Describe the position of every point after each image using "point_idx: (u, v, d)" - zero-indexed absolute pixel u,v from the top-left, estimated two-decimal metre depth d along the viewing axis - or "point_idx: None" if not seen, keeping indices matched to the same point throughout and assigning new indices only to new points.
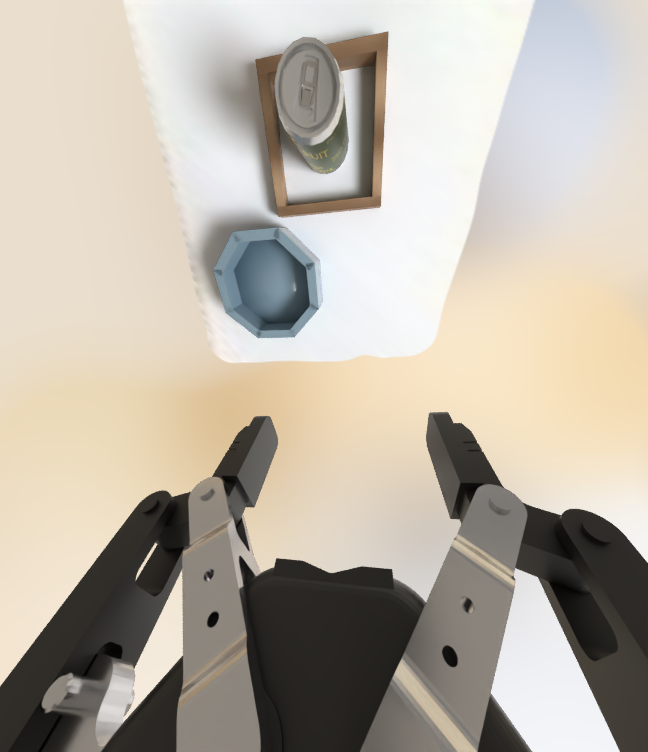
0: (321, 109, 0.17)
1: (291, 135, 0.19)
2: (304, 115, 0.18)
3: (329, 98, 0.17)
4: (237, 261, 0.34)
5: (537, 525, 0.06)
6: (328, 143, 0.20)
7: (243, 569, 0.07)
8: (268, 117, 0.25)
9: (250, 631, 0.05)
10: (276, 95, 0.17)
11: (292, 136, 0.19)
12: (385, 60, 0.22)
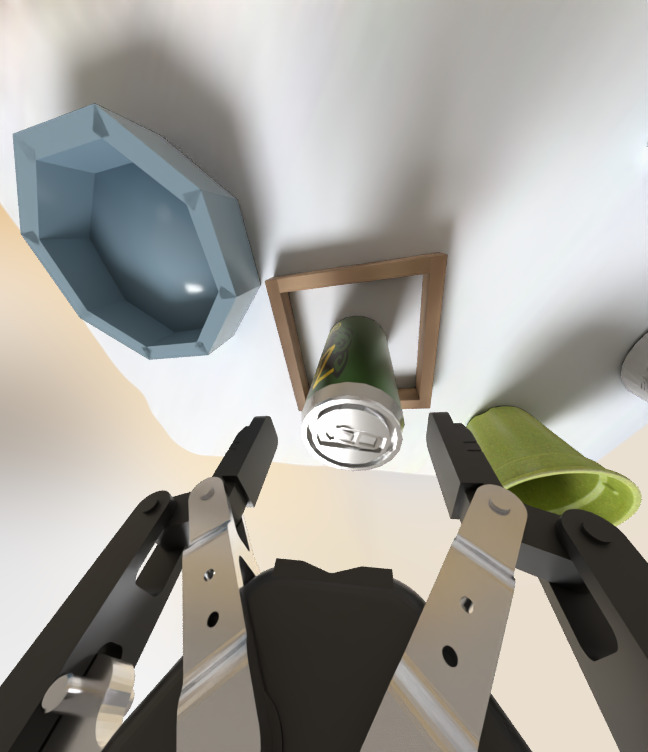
0: (331, 452, 0.12)
1: (309, 401, 0.11)
2: (327, 428, 0.11)
3: (341, 460, 0.12)
4: None
5: (537, 525, 0.06)
6: None
7: (243, 569, 0.07)
8: (383, 271, 0.16)
9: (250, 632, 0.05)
10: (346, 400, 0.10)
11: (308, 403, 0.11)
12: (411, 407, 0.22)
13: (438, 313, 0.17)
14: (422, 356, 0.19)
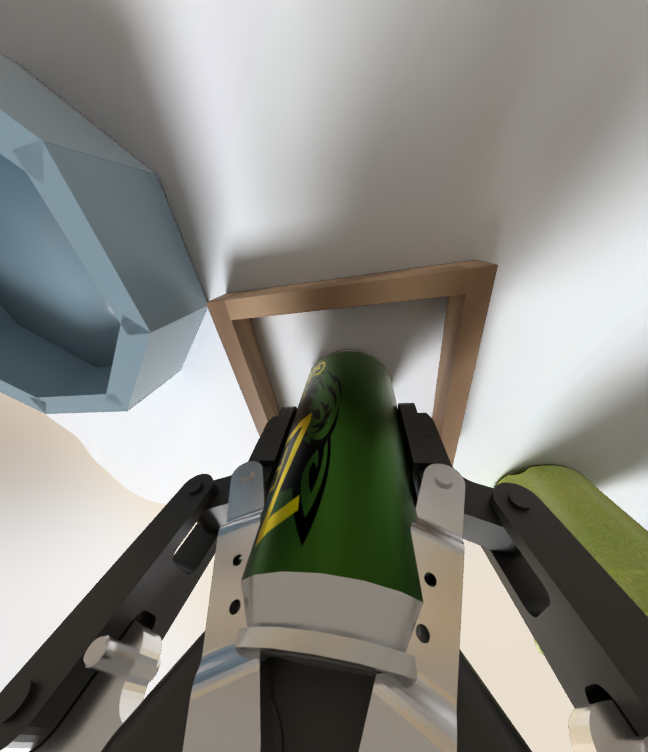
0: None
1: (242, 589, 0.05)
2: None
3: None
4: None
5: (475, 497, 0.07)
6: None
7: None
8: (390, 291, 0.10)
9: None
10: (316, 655, 0.04)
11: None
12: None
13: (474, 353, 0.11)
14: (444, 409, 0.13)
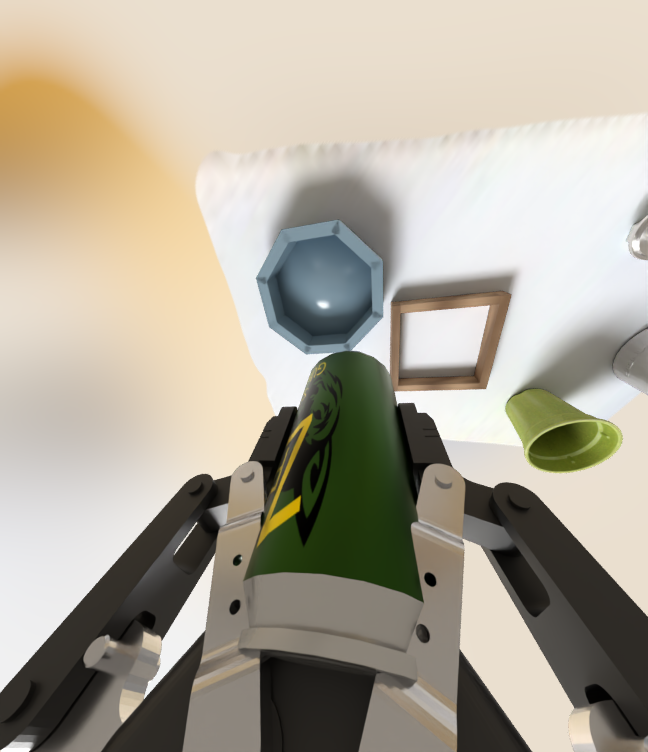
0: None
1: (244, 590, 0.05)
2: None
3: None
4: None
5: (475, 497, 0.07)
6: None
7: None
8: (470, 302, 0.27)
9: None
10: (318, 656, 0.04)
11: None
12: (473, 388, 0.33)
13: (501, 327, 0.28)
14: (486, 354, 0.30)
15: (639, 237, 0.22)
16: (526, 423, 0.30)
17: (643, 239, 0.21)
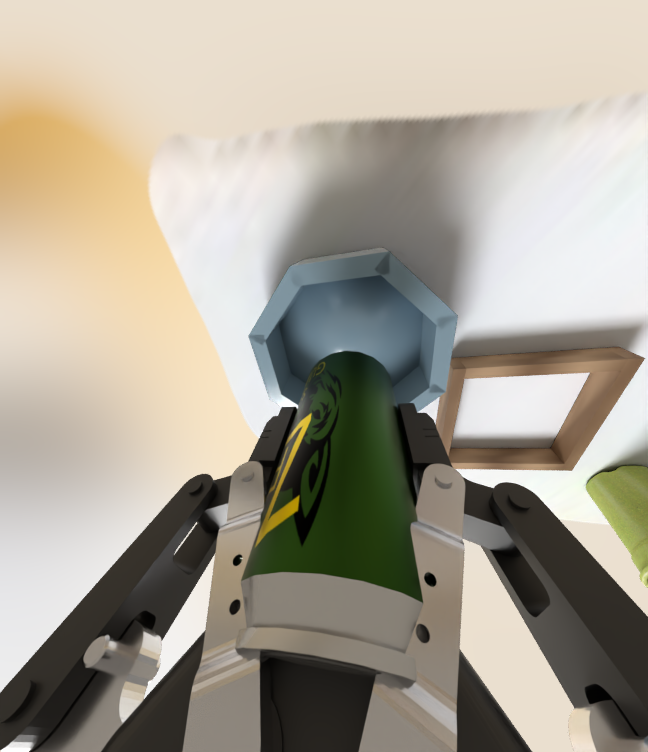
0: None
1: (242, 590, 0.05)
2: None
3: None
4: None
5: (475, 497, 0.07)
6: None
7: None
8: (576, 367, 0.18)
9: None
10: (316, 656, 0.04)
11: None
12: (553, 469, 0.24)
13: (615, 400, 0.19)
14: (581, 430, 0.21)
15: None
16: (637, 526, 0.21)
17: None
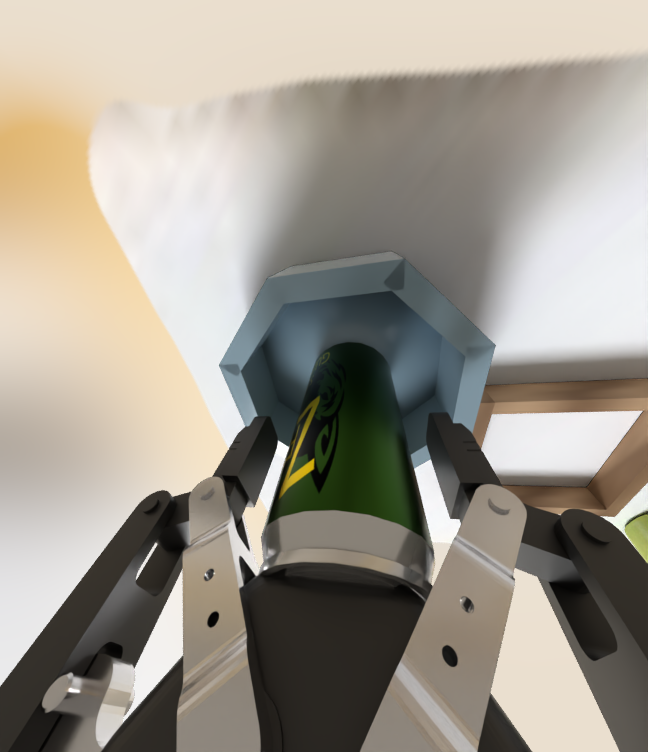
0: None
1: (270, 530, 0.07)
2: None
3: None
4: None
5: (537, 525, 0.06)
6: None
7: (243, 569, 0.07)
8: (637, 404, 0.14)
9: (250, 632, 0.05)
10: (334, 564, 0.05)
11: (268, 533, 0.07)
12: None
13: None
14: (632, 474, 0.17)
15: None
16: None
17: None
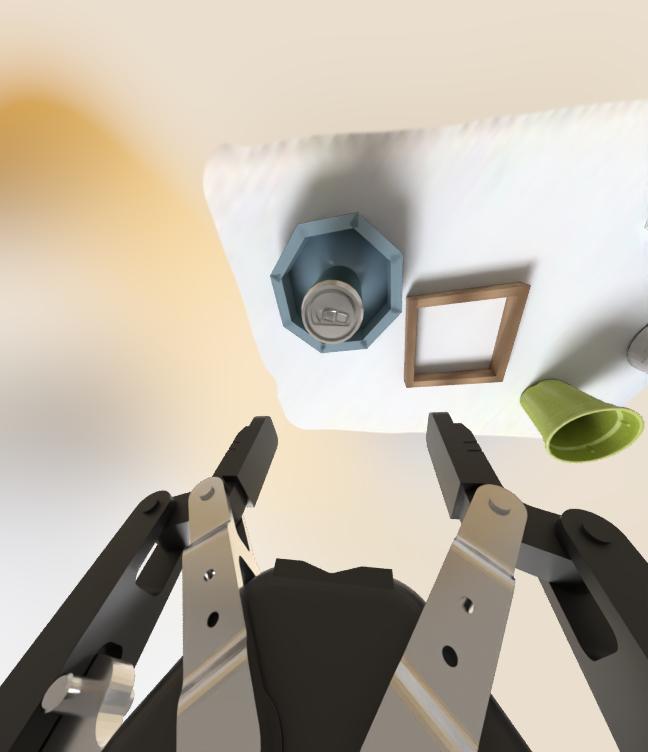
0: (320, 329, 0.19)
1: (305, 296, 0.19)
2: (317, 312, 0.19)
3: (326, 336, 0.20)
4: (365, 238, 0.25)
5: (537, 525, 0.06)
6: None
7: (243, 569, 0.07)
8: (489, 295, 0.26)
9: (250, 632, 0.05)
10: (327, 286, 0.18)
11: (305, 297, 0.19)
12: (489, 381, 0.32)
13: (519, 319, 0.28)
14: (503, 346, 0.30)
15: None
16: (545, 414, 0.30)
17: None
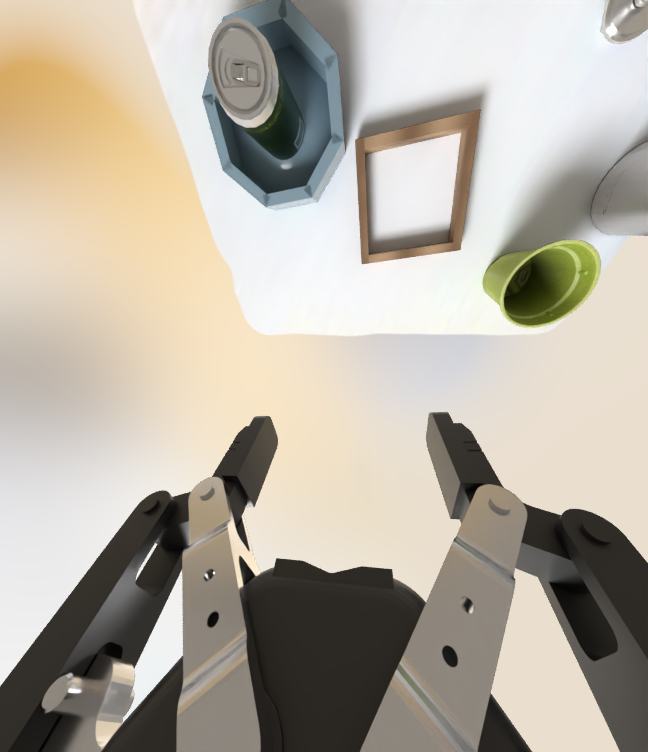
0: (232, 95, 0.18)
1: None
2: (226, 70, 0.17)
3: (240, 106, 0.18)
4: (303, 55, 0.24)
5: (537, 525, 0.06)
6: None
7: (243, 569, 0.07)
8: (437, 126, 0.25)
9: (250, 632, 0.05)
10: (229, 20, 0.16)
11: None
12: (446, 250, 0.31)
13: (471, 159, 0.26)
14: (458, 201, 0.28)
15: (613, 6, 0.20)
16: (501, 275, 0.28)
17: (616, 7, 0.20)
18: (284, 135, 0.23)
